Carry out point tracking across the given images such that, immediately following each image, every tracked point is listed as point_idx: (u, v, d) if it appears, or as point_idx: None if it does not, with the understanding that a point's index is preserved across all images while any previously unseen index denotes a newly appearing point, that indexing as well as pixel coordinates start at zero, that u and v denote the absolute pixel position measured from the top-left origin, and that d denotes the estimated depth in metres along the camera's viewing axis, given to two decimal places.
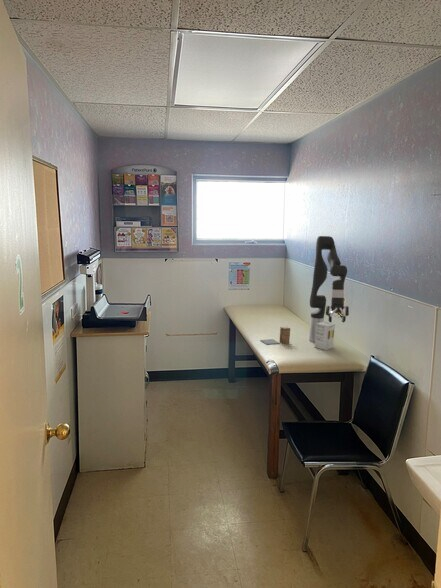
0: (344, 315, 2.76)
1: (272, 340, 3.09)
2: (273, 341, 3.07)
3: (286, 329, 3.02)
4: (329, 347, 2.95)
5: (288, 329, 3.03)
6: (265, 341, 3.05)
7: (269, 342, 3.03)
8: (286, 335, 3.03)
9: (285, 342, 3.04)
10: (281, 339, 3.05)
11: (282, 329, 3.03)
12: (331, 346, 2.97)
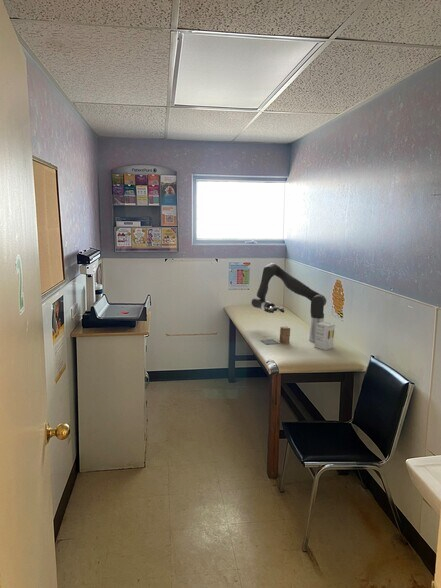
0: (270, 311, 3.16)
1: (272, 340, 3.09)
2: (273, 341, 3.07)
3: (286, 329, 3.02)
4: (329, 347, 2.95)
5: (288, 329, 3.03)
6: (265, 341, 3.05)
7: (269, 342, 3.03)
8: (286, 335, 3.03)
9: (285, 342, 3.04)
10: (281, 339, 3.05)
11: (282, 329, 3.03)
12: (331, 346, 2.97)
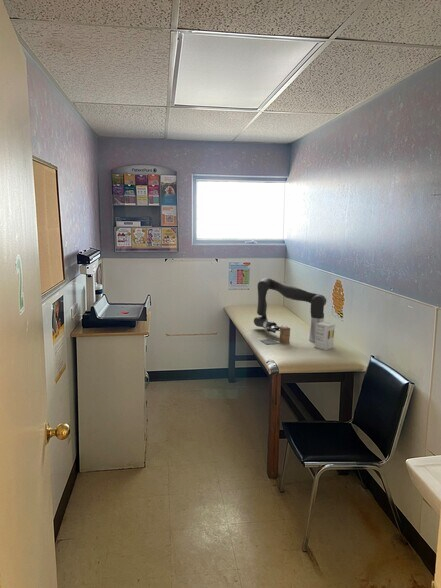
0: (271, 331, 3.14)
1: (272, 340, 3.09)
2: (273, 341, 3.07)
3: (286, 329, 3.02)
4: (329, 347, 2.95)
5: (288, 329, 3.03)
6: (265, 341, 3.05)
7: (269, 342, 3.03)
8: (286, 335, 3.03)
9: (285, 342, 3.04)
10: (281, 339, 3.05)
11: (282, 329, 3.03)
12: (331, 346, 2.97)
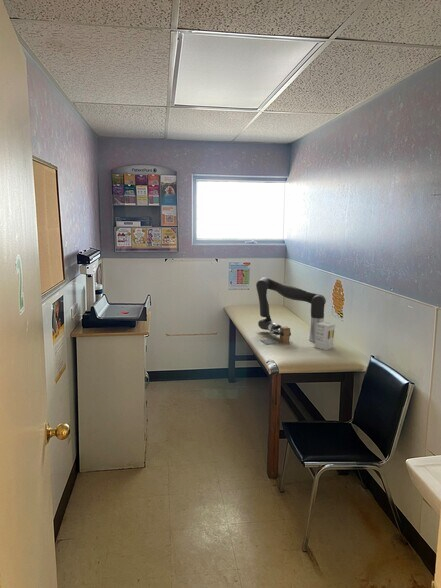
0: (279, 334, 3.06)
1: (272, 340, 3.09)
2: (273, 341, 3.07)
3: (286, 329, 3.02)
4: (329, 347, 2.95)
5: (288, 329, 3.03)
6: (265, 341, 3.05)
7: (269, 342, 3.03)
8: (286, 335, 3.03)
9: (285, 342, 3.04)
10: (281, 339, 3.05)
11: (282, 329, 3.03)
12: (331, 346, 2.97)
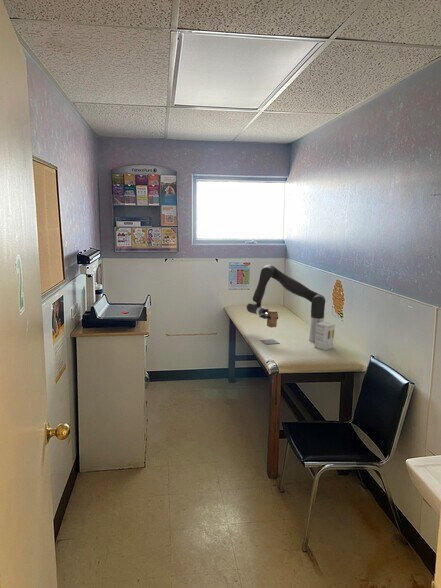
0: None
1: (272, 340, 3.09)
2: (273, 341, 3.07)
3: (273, 312, 3.00)
4: (329, 347, 2.95)
5: (275, 312, 3.01)
6: (265, 341, 3.05)
7: (269, 342, 3.03)
8: (273, 319, 3.01)
9: (272, 325, 3.02)
10: (268, 322, 3.03)
11: (269, 312, 3.01)
12: (331, 346, 2.97)
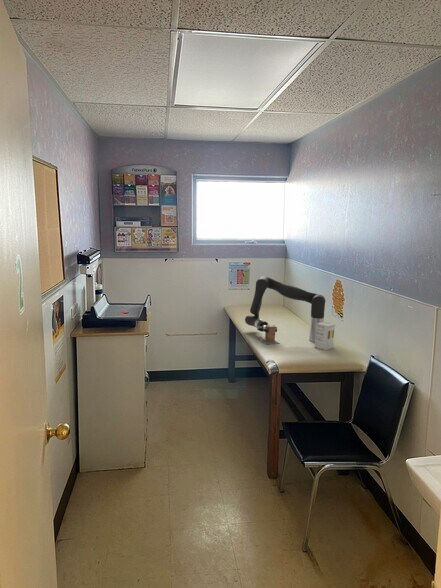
0: (264, 331, 3.05)
1: None
2: None
3: (271, 328, 3.02)
4: (329, 347, 2.95)
5: (273, 328, 3.02)
6: (265, 341, 3.05)
7: None
8: (271, 334, 3.03)
9: (270, 341, 3.03)
10: (266, 338, 3.05)
11: (267, 328, 3.03)
12: (331, 346, 2.97)
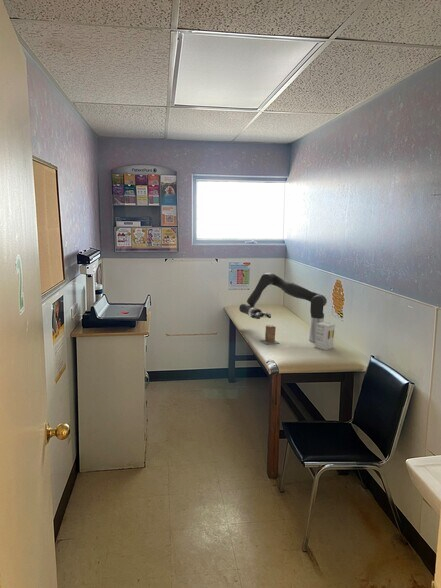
0: (256, 318, 3.16)
1: None
2: None
3: (271, 328, 3.02)
4: (329, 347, 2.95)
5: (273, 328, 3.02)
6: (265, 341, 3.05)
7: None
8: (271, 334, 3.03)
9: (270, 341, 3.03)
10: (266, 338, 3.05)
11: (267, 328, 3.03)
12: (331, 346, 2.97)
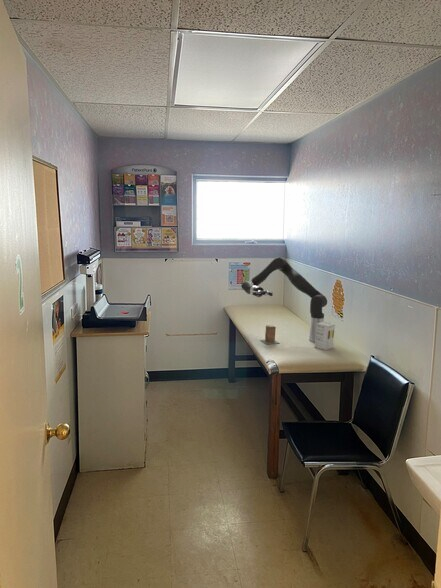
0: (258, 295, 3.13)
1: None
2: None
3: (271, 328, 3.02)
4: (329, 347, 2.95)
5: (273, 328, 3.02)
6: (265, 341, 3.05)
7: None
8: (271, 334, 3.03)
9: (270, 341, 3.03)
10: (266, 338, 3.05)
11: (267, 328, 3.03)
12: (331, 346, 2.97)
